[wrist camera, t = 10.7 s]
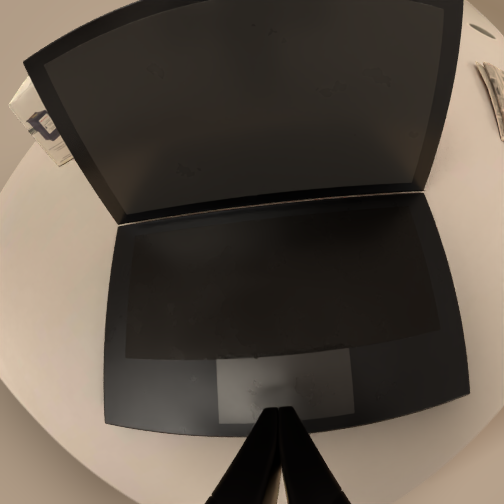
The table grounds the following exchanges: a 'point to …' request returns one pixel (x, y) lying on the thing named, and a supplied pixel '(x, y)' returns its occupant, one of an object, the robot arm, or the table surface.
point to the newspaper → (495, 91)
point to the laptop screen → (251, 100)
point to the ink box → (39, 122)
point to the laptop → (282, 317)
